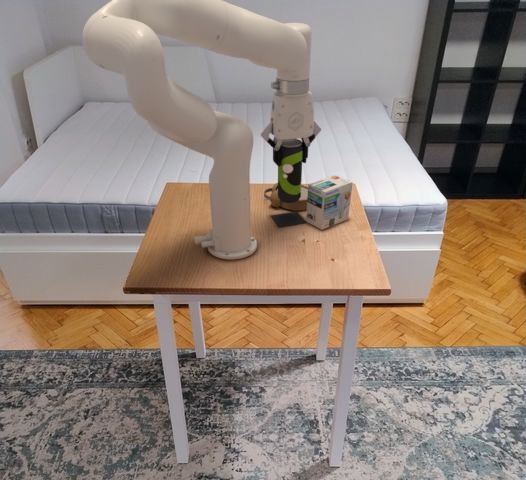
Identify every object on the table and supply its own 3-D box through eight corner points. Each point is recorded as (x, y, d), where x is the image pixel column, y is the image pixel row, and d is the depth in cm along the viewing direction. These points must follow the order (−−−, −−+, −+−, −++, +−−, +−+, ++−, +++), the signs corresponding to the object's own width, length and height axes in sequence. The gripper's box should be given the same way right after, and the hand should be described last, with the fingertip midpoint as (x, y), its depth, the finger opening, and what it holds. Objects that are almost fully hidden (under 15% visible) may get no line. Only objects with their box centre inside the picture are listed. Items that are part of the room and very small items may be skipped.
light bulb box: (321, 230, 134) (325, 192, 127) (304, 221, 138) (307, 184, 131) (349, 219, 139) (353, 181, 132) (332, 210, 143) (335, 173, 136)
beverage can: (287, 192, 138) (289, 136, 129) (305, 198, 135) (308, 141, 125) (273, 199, 135) (273, 142, 125) (290, 206, 132) (292, 148, 122)
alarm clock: (315, 202, 140) (263, 191, 140) (311, 218, 143) (260, 207, 143) (316, 186, 149) (267, 175, 148) (312, 201, 152) (264, 191, 151)
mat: (279, 227, 135) (279, 226, 135) (270, 216, 140) (270, 215, 140) (306, 223, 137) (306, 222, 137) (297, 212, 142) (297, 211, 142)
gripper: (262, 93, 112) (263, 172, 124) (333, 87, 116) (326, 164, 128) (252, 85, 117) (253, 161, 129) (320, 79, 121) (315, 154, 133)
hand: (290, 162), depth 128 cm, fingers closed on beverage can, 6 cm apart
